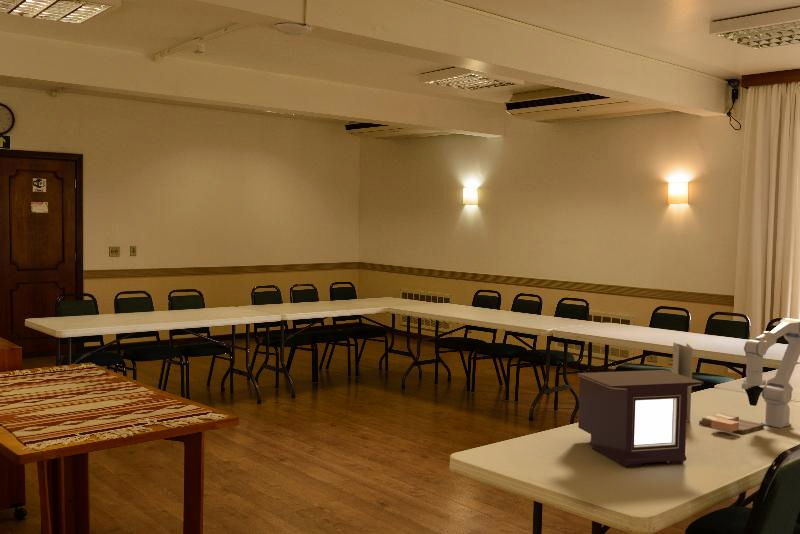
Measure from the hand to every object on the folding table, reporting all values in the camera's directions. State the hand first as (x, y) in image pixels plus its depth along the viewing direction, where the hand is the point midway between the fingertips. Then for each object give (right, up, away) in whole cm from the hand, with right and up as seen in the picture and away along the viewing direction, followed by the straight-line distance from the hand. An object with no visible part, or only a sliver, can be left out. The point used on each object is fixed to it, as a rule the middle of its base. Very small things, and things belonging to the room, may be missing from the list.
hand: (753, 405), depth 307 cm
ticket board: (-7, -9, +4) cm, 12 cm away
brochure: (-22, -8, +18) cm, 29 cm away
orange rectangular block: (-14, -8, -7) cm, 17 cm away
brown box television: (-59, -11, -33) cm, 68 cm away
